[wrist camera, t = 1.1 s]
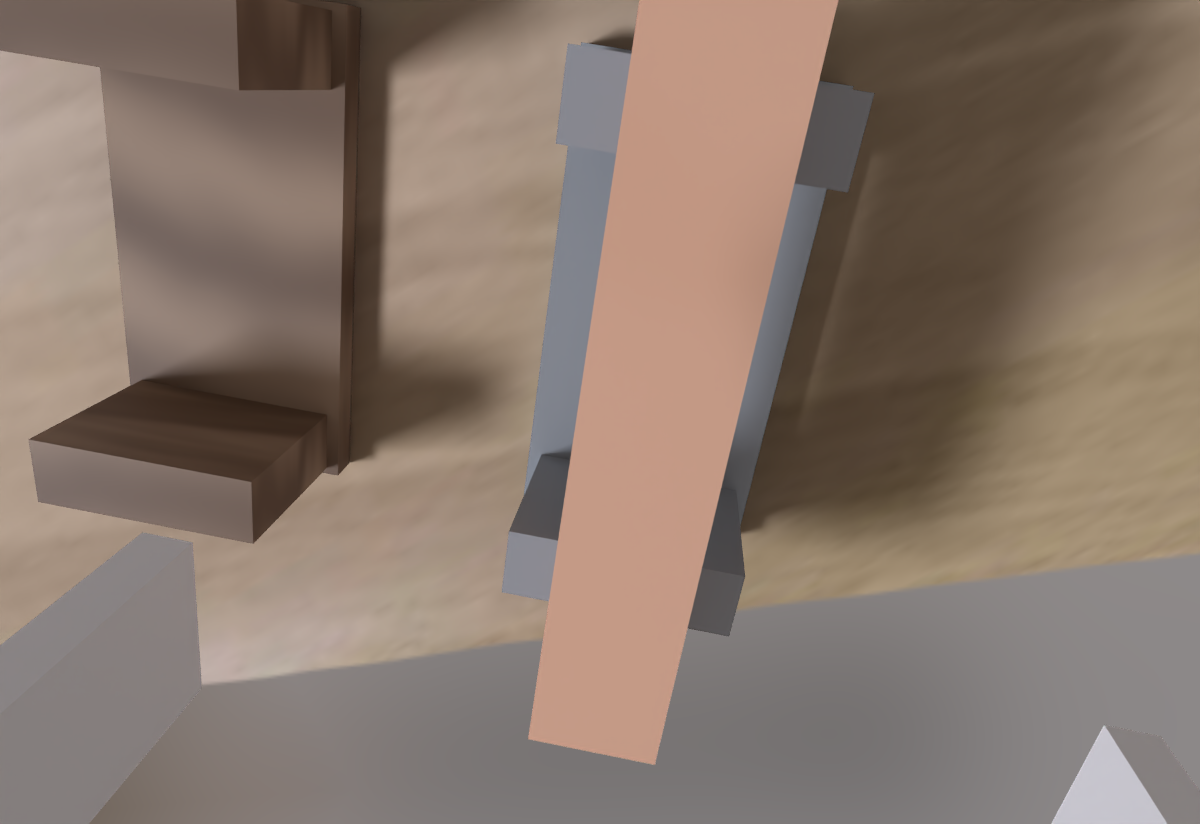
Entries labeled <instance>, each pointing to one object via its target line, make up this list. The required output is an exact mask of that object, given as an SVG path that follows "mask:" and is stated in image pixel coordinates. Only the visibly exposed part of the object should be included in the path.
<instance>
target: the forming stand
mask: <svg viewBox="0 0 1200 824" xmlns="http://www.w3.org/2000/svg"><path fill="white" fill-rule="evenodd" d="M631 53H632V50H626V49H619V48H613V47H607V46H601V45H595V44H589V43H582V42H581V46H580V45H574V44H568V47H567V56H566V64H565V72H564V80H563V89H562V97H561V105H560V114H559V122H558V130H557V138H556V144H561V145H567V146H568V151H567V159H566V167H565V175H564V183H563V190H562V198H561V206H560V214H559V222H558V230H557V238H556V246H555V254H554V261H553V269H552V277H551V285H550V293H549V301H548V309H547V317H546V325H545V332H544V340H543V348H542V356H541V364H540V372H539V380H538V388H537V396H536V404H535V411H534V419H533V427H532V435H531V443H530V451H529V459H528V467H527V475H526V482H525V490H524V497H523V499H522V502H521V504H520V507H519V509H518V511H517V514H516V516H515V518H514V521H513V523H512V526H511V528H510V530H509V536H508V545H507V553H506V561H505V569H504V578H503V586H502V592H504V593H509V594H514V595H519V596H524V597H529V598H535V599H540V600H545V601H549V598H550V591H551V584H552V578H553V571H554V564H555V558H556V551H557V544H558V538H559V531H560V524H561V518H562V511H563V505H564V498H565V491H566V485H567V478H568V471H569V465H570V458H571V451H572V445H573V438H574V431H575V425H576V418H577V412H578V405H579V398H580V392H581V385H582V378H583V372H584V365H585V358H586V352H587V345H588V338H589V332H590V325H591V319H592V312H593V305H594V299H595V292H596V285H597V279H598V272H599V265H600V259H601V252H602V245H603V239H604V232H605V226H606V219H607V212H608V206H609V199H610V192H611V186H612V179H613V172H614V166H615V159H616V152H617V146H618V139H619V133H620V126H621V119H622V113H623V106H624V99H625V93H626V86H627V79H628V73H629V66H630V59H631ZM852 89H853V86H849V85H842V84H836V83H830V82H824V81H819V83H818V87H817V91H816V95H815V100H814V104H813V108H812V112H811V116H810V120H809V125H808V129H807V133H806V137H805V141H804V145H803V150H802V154H801V158H800V162H799V166H798V170H797V175H796V179H795V183H794V187H793V191H792V195H791V200H790V204H789V208H788V212H787V216H786V220H785V224H784V229H783V233H782V237H781V241H780V245H779V249H778V254H777V258H776V262H775V266H774V270H773V274H772V279H771V283H770V287H769V291H768V295H767V299H766V304H765V308H764V312H763V316H762V320H761V324H760V329H759V333H758V337H757V341H756V345H755V349H754V353H753V358H752V362H751V366H750V370H749V374H748V378H747V383H746V387H745V391H744V395H743V399H742V403H741V408H740V412H739V416H738V420H737V424H736V428H735V433H734V437H733V441H732V445H731V449H730V453H729V458H728V462H727V466H726V470H725V474H724V478H723V482H722V487H721V491H720V495H719V499H718V503H717V507H716V512H715V516H714V520H713V524H712V528H711V532H710V537H709V541H708V545H707V549H706V553H705V557H704V562H703V566H702V570H701V574H700V578H699V582H698V587H697V591H696V595H695V599H694V603H693V607H692V612H691V616H690V620H689V624H688V628H689V629H694V630H699V631H704V632H709V633H714V634H719V635H724V636H729V635H730V631H731V627H732V623H733V620H734V616H735V612H736V608H737V605H738V601H739V597H740V594H741V590H742V586H743V582H744V579H745V571H744V561H743V551H742V541H741V531H740V525H741V521H742V517H743V514H744V510H745V506H746V502H747V498H748V494H749V490H750V486H751V482H752V478H753V475H754V471H755V467H756V463H757V459H758V455H759V451H760V447H761V443H762V440H763V436H764V432H765V428H766V424H767V420H768V416H769V412H770V408H771V405H772V401H773V397H774V393H775V389H776V385H777V381H778V377H779V373H780V370H781V366H782V362H783V358H784V354H785V350H786V346H787V342H788V338H789V335H790V331H791V327H792V323H793V319H794V315H795V311H796V307H797V303H798V299H799V296H800V292H801V288H802V284H803V280H804V276H805V272H806V268H807V264H808V261H809V257H810V253H811V249H812V245H813V241H814V237H815V233H816V229H817V226H818V222H819V218H820V214H821V210H822V206H823V202H824V198H825V194H826V191H827V189H830V190H836V191H842V192H848V190H849V187H850V183H851V179H852V175H853V172H854V168H855V164H856V160H857V157H858V153H859V149H860V145H861V142H862V138H863V134H864V131H865V127H866V123H867V119H868V116H869V112H870V108H871V104H872V101H873V97H874V93H871V92H864V91H858V90H852Z"/></svg>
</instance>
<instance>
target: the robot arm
mask: <svg viewBox="0 0 1200 824" xmlns="http://www.w3.org/2000/svg"><path fill="white" fill-rule="evenodd" d="M201 688H202V684H201V668H200V652H199V637H198V621H197V605H196V589H195V573H194V557H193V542H188V541H183V540H178V539H173V538H168V537H163V536H158V535H153V534H148V533H143V532H142V533H141V534H140V535H139V536H137V537H136V538H135V539H134V540H132V541H131V542H130V543H129V544H127V545H126V546H125V547H124V548H122V549H121V550H120V551H118V552H117V553H116V554H115V555H113V556H112V557H111V558H110V559H108V560H107V561H106V562H105V563H103V564H102V565H101V566H100V567H98V568H97V569H96V570H95V571H93V572H92V573H91V574H90V575H88V576H87V577H86V578H84V579H83V580H82V581H81V582H79V583H78V584H77V585H76V586H74V587H73V588H72V589H71V590H69V591H68V592H67V593H66V594H64V595H63V596H62V597H61V598H59V599H58V600H57V601H55V602H54V603H53V604H52V605H50V606H49V607H48V608H47V609H45V610H44V611H43V612H42V613H40V614H39V615H38V616H37V617H35V618H34V619H33V620H32V621H30V622H29V623H28V624H26V625H25V626H24V627H23V628H21V629H20V630H19V631H18V632H16V633H15V634H14V635H13V636H11V637H10V638H9V639H8V640H6V641H5V642H4V643H3V644H1V645H0V824H89V823H90V821H91V820H92V819H93V818H94V817H95V816H96V814H97V813H98V812H99V811H100V810H101V808H102V807H103V806H104V805H105V804H106V802H107V801H108V800H109V799H110V797H111V796H112V795H113V794H114V793H115V792H116V790H117V789H118V788H119V787H120V786H121V784H122V783H123V782H124V781H125V780H126V778H127V777H128V776H129V775H130V774H131V772H132V771H133V770H134V769H135V768H136V766H137V765H138V764H139V763H140V762H141V760H142V759H143V758H144V757H145V756H146V754H147V753H148V752H149V751H150V749H151V748H152V747H153V746H154V745H155V744H156V742H157V741H158V740H159V739H160V737H161V736H162V735H163V734H164V733H165V732H166V730H167V729H168V728H169V727H170V726H171V724H172V723H173V722H174V721H175V720H176V718H177V717H178V716H179V715H180V714H181V712H182V711H183V710H184V709H185V707H186V706H187V705H188V704H189V703H190V702H191V700H192V699H193V698H194V697H195V696H196V694H197V693H198V692H199V691H200V689H201ZM1051 824H1200V790H1199V789H1198V788H1197V786H1196V785H1195V783H1194V782H1193V781H1192V779H1191V778H1190V776H1189V775H1188V774H1187V772H1186V771H1185V770H1184V768H1183V767H1182V766H1181V764H1180V762H1179V761H1178V760H1177V758H1176V757H1175V756H1174V754H1173V753H1172V751H1171V750H1170V748H1169V747H1168V746H1167V744H1166V743H1165V742H1164V740H1163V739H1162V737H1161V736H1157V735H1152V734H1147V733H1142V732H1137V731H1132V730H1127V729H1122V728H1117V727H1112V726H1107V725H1104V726H1103V728H1102V730H1101V732H1100V733H1099V735H1098V737H1097V739H1096V741H1095V743H1094V745H1093V747H1092V748H1091V750H1090V753H1089V754H1088V756H1087V758H1086V760H1085V762H1084V764H1083V765H1082V767H1081V769H1080V771H1079V773H1078V775H1077V777H1076V778H1075V780H1074V782H1073V784H1072V786H1071V788H1070V790H1069V792H1068V793H1067V795H1066V797H1065V799H1064V801H1063V803H1062V805H1061V807H1060V808H1059V810H1058V812H1057V814H1056V816H1055V818H1054V820H1053V822H1052V823H1051Z"/></svg>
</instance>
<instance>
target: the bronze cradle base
mask: <svg viewBox="0 0 1200 824" xmlns="http://www.w3.org/2000/svg"><path fill="white" fill-rule="evenodd" d="M360 14H361V8H359V7H355V6H351V5H347V4H341V3H335V2H328V1H322V0H0V50H1V51H7V52H13V53H19V54H25V55H31V56H37V57H43V58H49V59H55V60H61V61H67V62H72V63H78V64H84V65H90V66H96V67H100V71H101V81H102V92H103V102H104V113H105V123H106V134H107V144H108V155H109V165H110V176H111V186H112V197H113V207H114V217H115V228H116V238H117V249H118V259H119V270H120V280H121V291H122V301H123V312H124V322H125V333H126V343H127V353H128V364H129V374H130V385H131V386H129V387H127V388H125V389H123V390H122V391H120V392H118V393H116V394H114V395H112V396H110V397H108V398H106V399H104V400H103V401H101V402H99V403H97V404H95V405H93V406H91V407H89V408H87V409H86V410H84V411H82V412H80V413H78V414H76V415H74V416H72V417H70V418H68V419H67V420H65V421H63V422H61V423H59V424H57V425H55V426H53V427H51V428H49V429H48V430H46V431H44V432H42V433H40V434H38V435H36V436H34V437H32V438H31V439H29V445H30V452H31V458H32V465H33V471H34V477H35V484H36V490H37V497H38V502H42V503H47V504H52V505H57V506H62V507H67V508H72V509H78V510H83V511H88V512H93V513H98V514H103V515H108V516H114V517H119V518H124V519H129V520H134V521H139V522H144V523H149V524H155V525H160V526H165V527H170V528H175V529H180V530H185V531H191V532H196V533H201V534H206V535H211V536H216V537H221V538H226V539H232V540H237V541H242V542H247V543H252V544H253V543H254V542H255V541H256V540H257V539H258V538H259V537H260V536H261V535H262V534H263V533H264V532H265V531H266V530H267V529H268V528H269V527H270V526H271V525H272V524H273V523H274V522H275V521H276V520H277V519H278V518H279V517H280V516H281V515H282V513H283V512H284V511H285V510H286V509H287V508H288V507H289V506H290V505H291V504H292V503H293V502H294V501H295V500H296V499H297V498H298V497H299V496H300V495H301V494H302V493H303V492H304V491H305V490H306V489H307V488H308V487H309V486H310V485H311V484H312V483H313V482H314V481H315V479H316V478H317V477H318V476H319V475H320V474H321V473H322V472H323V473H328V474H333V475H339V474H340V473H341V471H342V470H343V469H344V468H345V467H346V466H347V465H348V464H349V456H350V416H351V375H352V335H353V295H354V255H355V215H356V175H357V134H358V94H359V54H360Z"/></svg>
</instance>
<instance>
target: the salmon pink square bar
mask: <svg viewBox="0 0 1200 824" xmlns="http://www.w3.org/2000/svg"><path fill="white" fill-rule="evenodd" d="M837 4H838V0H639V6H638V13H637V20H636V26H635V33H634V40H633V46H632V53H631V59H630V66H629V73H628V79H627V86H626V93H625V99H624V106H623V113H622V119H621V126H620V133H619V139H618V146H617V152H616V159H615V166H614V172H613V179H612V186H611V192H610V199H609V206H608V212H607V219H606V226H605V232H604V239H603V245H602V252H601V259H600V265H599V272H598V279H597V285H596V292H595V299H594V305H593V312H592V319H591V325H590V332H589V338H588V345H587V352H586V358H585V365H584V372H583V378H582V385H581V392H580V398H579V405H578V412H577V418H576V425H575V431H574V438H573V445H572V451H571V458H570V465H569V471H568V478H567V485H566V491H565V498H564V505H563V511H562V518H561V524H560V531H559V538H558V544H557V551H556V558H555V564H554V571H553V578H552V584H551V591H550V598H549V604H548V611H547V617H546V624H545V631H544V637H543V645H542V652H541V658H540V664H539V671H538V678H537V684H536V691H535V698H534V704H533V710H532V717H531V724H530V730H529V737H528V739H530V740H535V741H540V742H545V743H550V744H555V745H560V746H564V747H570V748H574V749H579V750H584V751H589V752H595V753H599V754H604V755H609V756H614V757H619V758H624V759H628V760H634V761H638V762H643V763H648V764H653V765H655V761H656V757H657V753H658V749H659V745H660V740H661V736H662V732H663V728H664V724H665V720H666V716H667V711H668V707H669V703H670V698H671V694H672V691H673V686H674V682H675V678H676V674H677V670H678V666H679V661H680V657H681V653H682V649H683V645H684V640H685V636H686V632H687V628H688V624H689V620H690V616H691V612H692V607H693V603H694V599H695V595H696V591H697V587H698V582H699V578H700V574H701V570H702V566H703V562H704V557H705V553H706V549H707V545H708V541H709V537H710V532H711V528H712V524H713V520H714V516H715V512H716V507H717V503H718V499H719V495H720V491H721V487H722V482H723V478H724V474H725V470H726V466H727V462H728V458H729V453H730V449H731V445H732V441H733V437H734V433H735V428H736V424H737V420H738V416H739V412H740V408H741V403H742V399H743V395H744V391H745V387H746V383H747V378H748V374H749V370H750V366H751V362H752V358H753V353H754V349H755V345H756V341H757V337H758V333H759V329H760V324H761V320H762V316H763V312H764V308H765V304H766V299H767V295H768V291H769V287H770V283H771V279H772V274H773V270H774V266H775V262H776V258H777V254H778V249H779V245H780V241H781V237H782V233H783V229H784V224H785V220H786V216H787V212H788V208H789V204H790V200H791V195H792V191H793V187H794V183H795V179H796V175H797V170H798V166H799V162H800V158H801V154H802V150H803V145H804V141H805V137H806V133H807V129H808V125H809V120H810V116H811V112H812V108H813V104H814V100H815V95H816V91H817V87H818V83H819V79H820V75H821V71H822V66H823V62H824V58H825V54H826V50H827V46H828V41H829V37H830V33H831V29H832V25H833V21H834V16H835V12H836V8H837Z"/></svg>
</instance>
